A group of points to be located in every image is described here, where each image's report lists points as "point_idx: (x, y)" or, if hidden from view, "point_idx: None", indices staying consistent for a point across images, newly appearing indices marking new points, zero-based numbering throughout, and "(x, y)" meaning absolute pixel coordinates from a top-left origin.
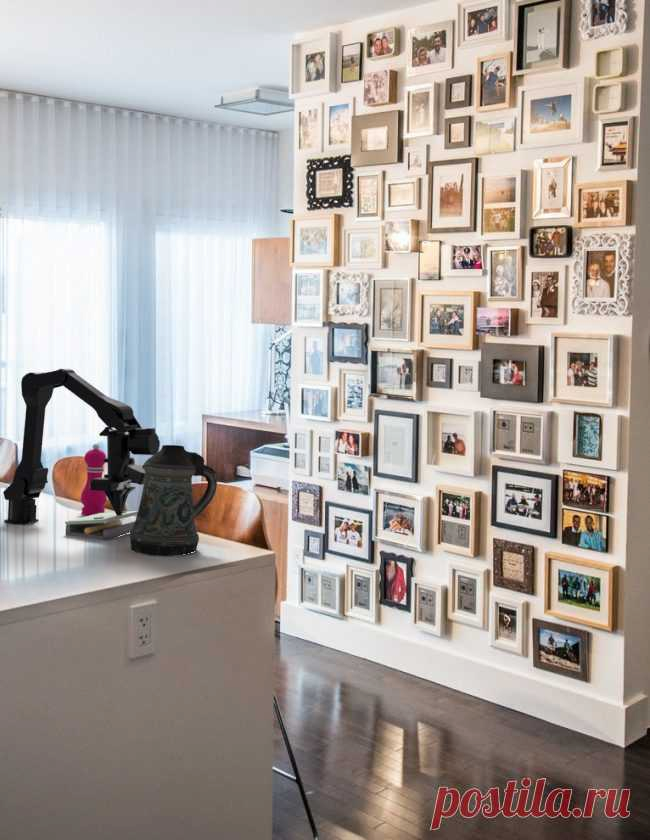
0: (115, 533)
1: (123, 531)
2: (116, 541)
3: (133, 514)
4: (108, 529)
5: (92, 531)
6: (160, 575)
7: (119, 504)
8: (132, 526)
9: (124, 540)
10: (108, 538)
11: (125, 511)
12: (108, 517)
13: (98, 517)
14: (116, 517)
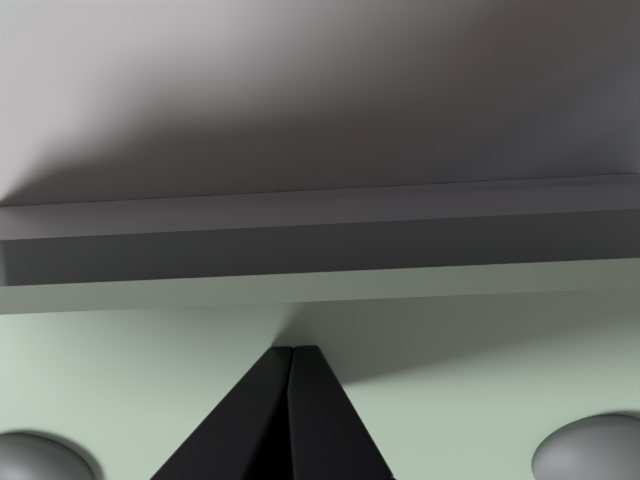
0: (492, 194)
1: (317, 203)
2: (632, 71)
3: (18, 295)
4: (636, 232)
5: None
6: None
7: (385, 471)
8: (118, 222)
9: (534, 34)
10: (619, 179)
11: (6, 445)
12: (538, 384)
13: (618, 466)
14: (521, 286)
